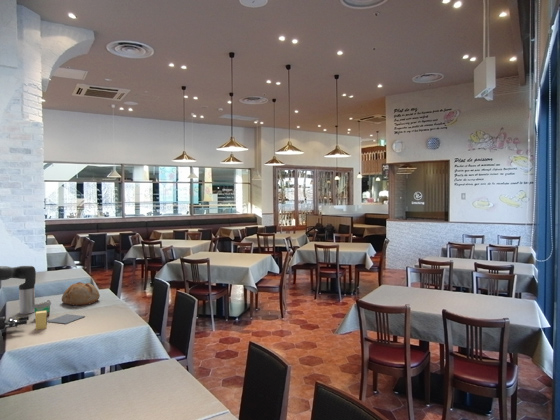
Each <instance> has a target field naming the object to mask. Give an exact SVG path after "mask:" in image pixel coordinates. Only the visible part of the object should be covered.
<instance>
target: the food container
mask: <svg viewBox="0 0 560 420" xmlns="http://www.w3.org/2000/svg"><path fill="white" fill-rule="evenodd" d="M51 305H52V301H51V300H49V299H47V300H46V301H44V302H41V303H37V304H36V303H35V304H34V309H35V312H34V314H35V313H36V312H38V311H46V310H47V318H49V317H50V314H51V311H50V310H51ZM48 316H49V317H48Z"/></svg>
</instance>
